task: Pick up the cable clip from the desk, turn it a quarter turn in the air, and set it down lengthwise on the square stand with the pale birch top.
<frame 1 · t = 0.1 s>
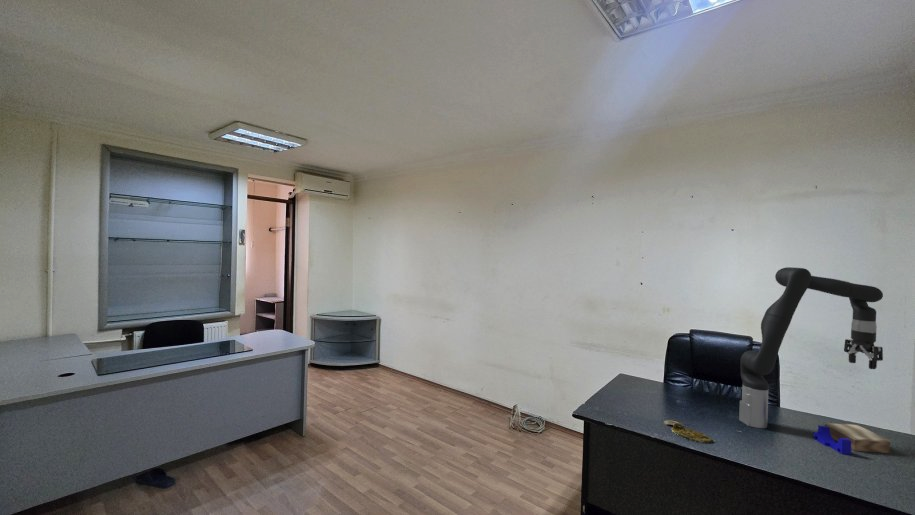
hand: (862, 365, 162), 29 cm above the table, tool pointing down, fingers open, 8 cm apart
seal: (691, 437, 153), on the table
stand: (855, 443, 150), on the table
cable clip: (831, 447, 148), on the table
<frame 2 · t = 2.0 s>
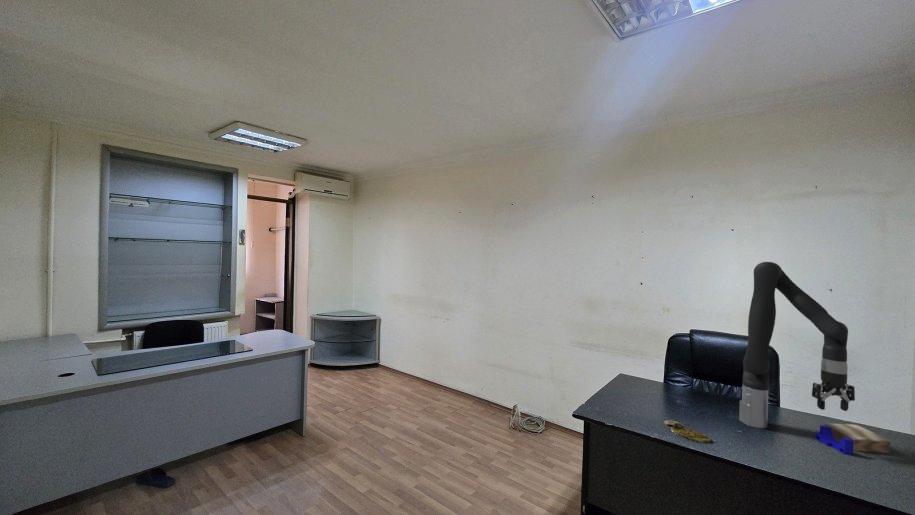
hand: (832, 409, 147), 15 cm above the table, tool pointing down, fingers open, 8 cm apart
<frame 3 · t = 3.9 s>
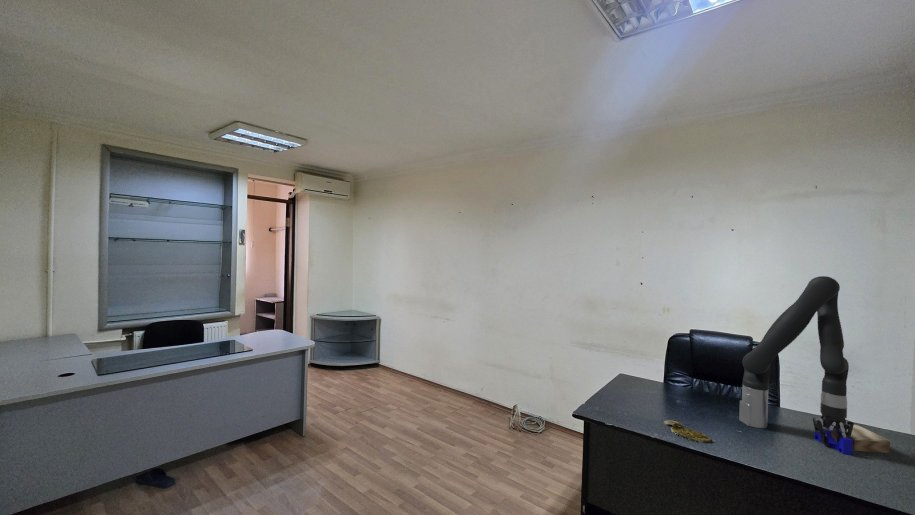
hand: (832, 444, 147), 1 cm above the table, tool pointing down, fingers open, 5 cm apart
nothing on the table moved.
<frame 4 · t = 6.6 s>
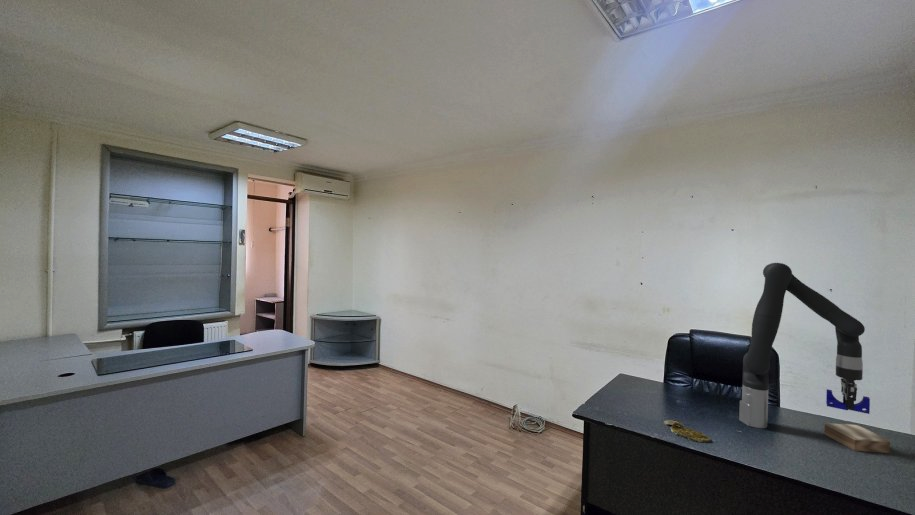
hand: (848, 407, 149), 16 cm above the table, tool pointing down, fingers closed on cable clip, 4 cm apart
cable clip: (847, 409, 149), point 15 cm above the table, touching gripper
everything else where it was.
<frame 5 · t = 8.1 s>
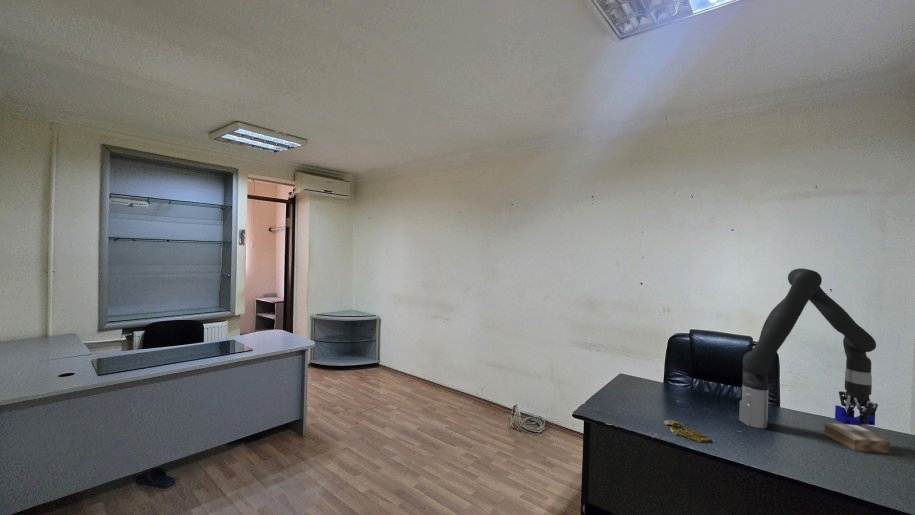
hand: (856, 421, 150), 9 cm above the table, tool pointing down, fingers closed on cable clip, 4 cm apart
cable clip: (856, 423, 150), point 8 cm above the table, touching gripper
everything else where it was.
when the fingers open (7 cm above the table, at t = 9.3 s): cable clip drops 1 cm, resting on stand.
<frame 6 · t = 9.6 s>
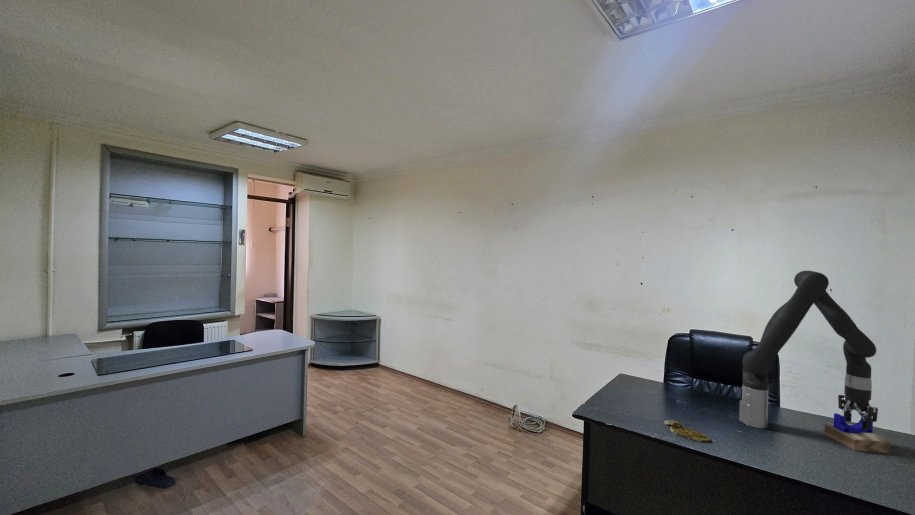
hand: (856, 425, 150), 8 cm above the table, tool pointing down, fingers open, 6 cm apart
cable clip: (854, 431, 151), point 5 cm above the table, touching stand
everything else where it was.
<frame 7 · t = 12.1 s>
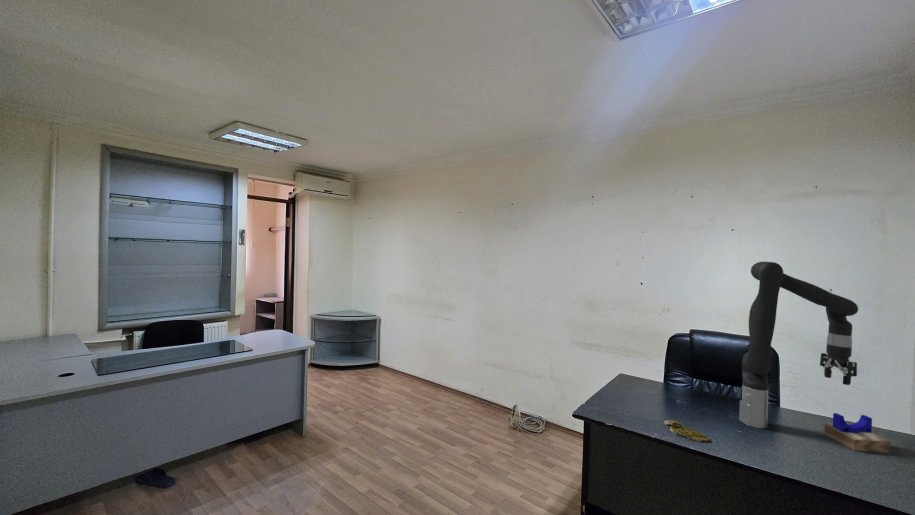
hand: (836, 380, 157), 24 cm above the table, tool pointing down, fingers open, 8 cm apart
nothing on the table moved.
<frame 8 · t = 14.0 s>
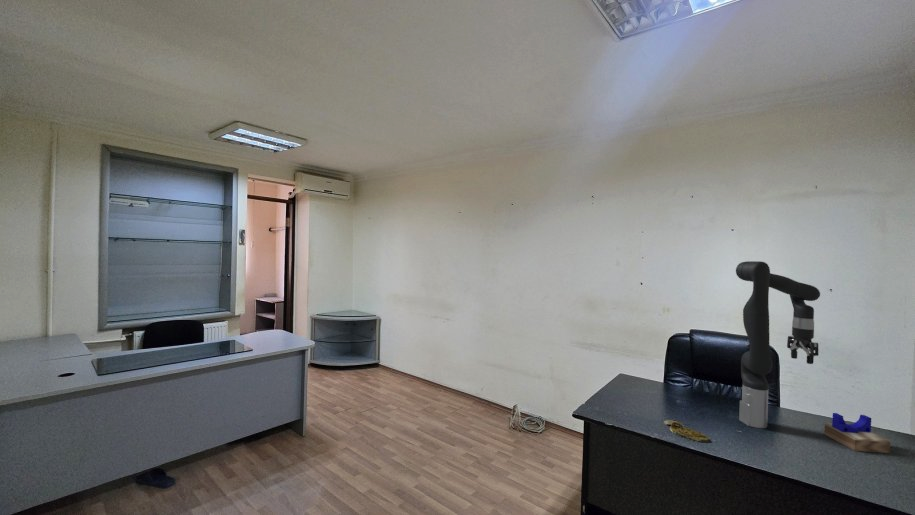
hand: (801, 360, 171), 28 cm above the table, tool pointing down, fingers open, 8 cm apart
nothing on the table moved.
at the end: cable clip inside the target area on the stand (0.9 cm from its centre), point 4.8 cm above the stand's base; cable clip tilted 0°; the gripper is holding nothing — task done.
